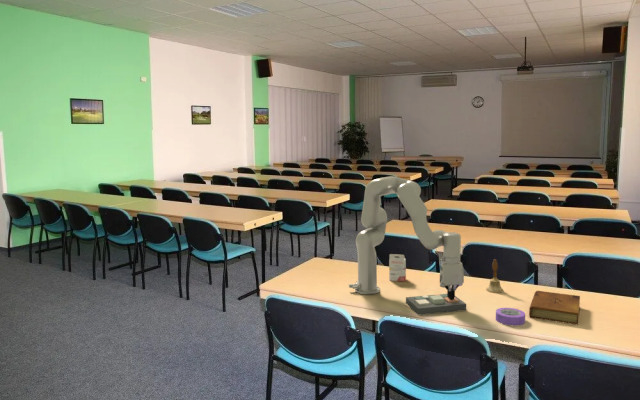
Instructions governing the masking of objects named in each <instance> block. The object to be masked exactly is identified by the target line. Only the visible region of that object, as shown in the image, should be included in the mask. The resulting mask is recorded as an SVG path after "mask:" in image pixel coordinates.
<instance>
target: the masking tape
mask: <svg viewBox="0 0 640 400" xmlns="http://www.w3.org/2000/svg"><path fill="white" fill-rule="evenodd" d="M495 321H496V322H497V323H499V324H501V323H502V324H501V325H505V324H506V325H505V326H510V325H513V327H514V326H515V327H516V326H518V325H519V326H522V325H524V324H525V323H526V313H525V311H523V310H521V309H518V308H514V307H513V308H512V307H499V308H497V309H496V310H495Z"/></svg>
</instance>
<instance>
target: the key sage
mask: <svg viewBox="0 0 640 400" xmlns="http://www.w3.org/2000/svg"><path fill="white" fill-rule="evenodd" d="M435 295H436V296H430V298H429V301H430V302H431V303H432V304H443V303H444V298H443V297H441V296H440V295H438V294H435Z"/></svg>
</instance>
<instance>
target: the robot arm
mask: <svg viewBox="0 0 640 400" xmlns="http://www.w3.org/2000/svg"><path fill="white" fill-rule="evenodd" d="M421 192H422V188H421V186H420V185H419V183H418V182H416V181H413V180H410V179H405V178H401V177H399V176H392V175H391V176H385V177H380V178H376V179H373V180H371V181H370V182H368V183H367V184H366V186H365V190H364V196H363V205H362V210H361V216H360V217H361V219H360V222H361V225H362V226H363V228H365V229H363V230H361V231H360V232H358V234H357V235H356V238H355V245H356V252H357V281H356V282H355V283H349V284H348V288H350V289H354V291H355V293H358V294H360V295H367V296H368V295H376V294H378V293H380V291H381V288H380V286H378V285H377V284H378V282H377V281H378V280H377V279H378V278H377V277H378V276H377V274H378V273H377V272H378V271H377V270H378V267H377V265H378V264H377V260H378V259H377V257H378V256H377V251H376V248H375V247H376V246H379V245H381V244H382V243H383V241H384V240H385V234H386V229H387V223H388V214H387V212H386V210H385V209H384V208H383V207H381V205H382V203H381V202H382V199H381V197H382V196H387V195H391V194H395V195H396V196H397V198H398V199H399V201H400V202H401V204H402V205H403V207H404V209H405V210H406V212H407V214H408V215H409V216H410V218H411V223H412V226H413V231H414V234H416V237H417V238H418V240H419V242H420V243H421V245H423V246H424V248H426V249H427V250H430V251H432V250H436V249H437V248H440V247H442V250H443V252H442V253H443V254H442V257H441V258H440V261H441V265H440V271H439V287H441V288H443V289H446V290H447V291H446V292H447V293H446V294H447V297H448V298H449V299H450V300H452V299H454V297H455V296H456V291H457V289H459V287H462V286H463V284H464V283H465V279H464V278H465V277H464V276H465V275H464V274H465V273H464V266H463V262H461V243H462V241H461V239H462V236H461V234H460V233H458V232H455V231H454V232H453V231H452V232H451V231H450V232H449V231H444V230H441V229H436V230H433V231H432V228H431V226H430V225H429V224H428V221H427V220H428V219H427V216H428V215H427V213H428V208H427V206H426V204H425V202H424V201H423V200H422V199H421V197H420V196H421Z"/></svg>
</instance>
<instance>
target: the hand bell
mask: <svg viewBox="0 0 640 400" xmlns="http://www.w3.org/2000/svg"><path fill="white" fill-rule="evenodd" d="M491 266H492V267H491V268H492V271H493V276H492V278H491V279H490V280H489V285H488V286H487V287H486V289H485V290H486V291H487V292H488V293H492V294H501V293H503V292H504V288H503V287H502V286H501V281H500V279H498V276H497V274H498V273H497V272H498V268H499V264H498V261H497V259H495V258H494V259H493V261H492V264H491Z"/></svg>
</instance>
